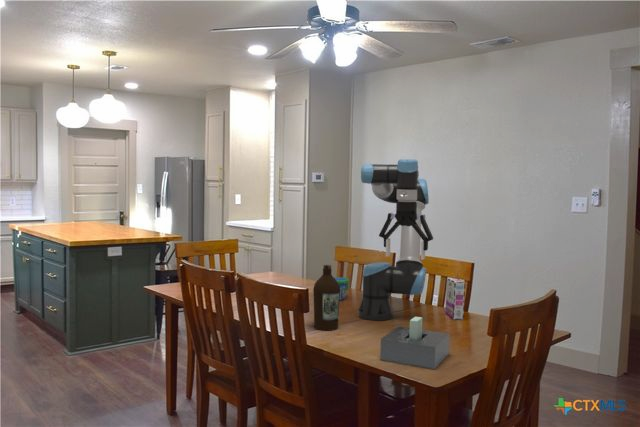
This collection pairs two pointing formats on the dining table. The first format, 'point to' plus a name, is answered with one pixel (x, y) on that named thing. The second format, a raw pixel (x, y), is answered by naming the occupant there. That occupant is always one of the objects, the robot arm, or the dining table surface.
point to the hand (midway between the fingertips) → (405, 257)
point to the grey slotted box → (415, 348)
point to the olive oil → (326, 301)
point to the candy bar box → (455, 298)
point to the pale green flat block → (415, 328)
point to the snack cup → (342, 286)
